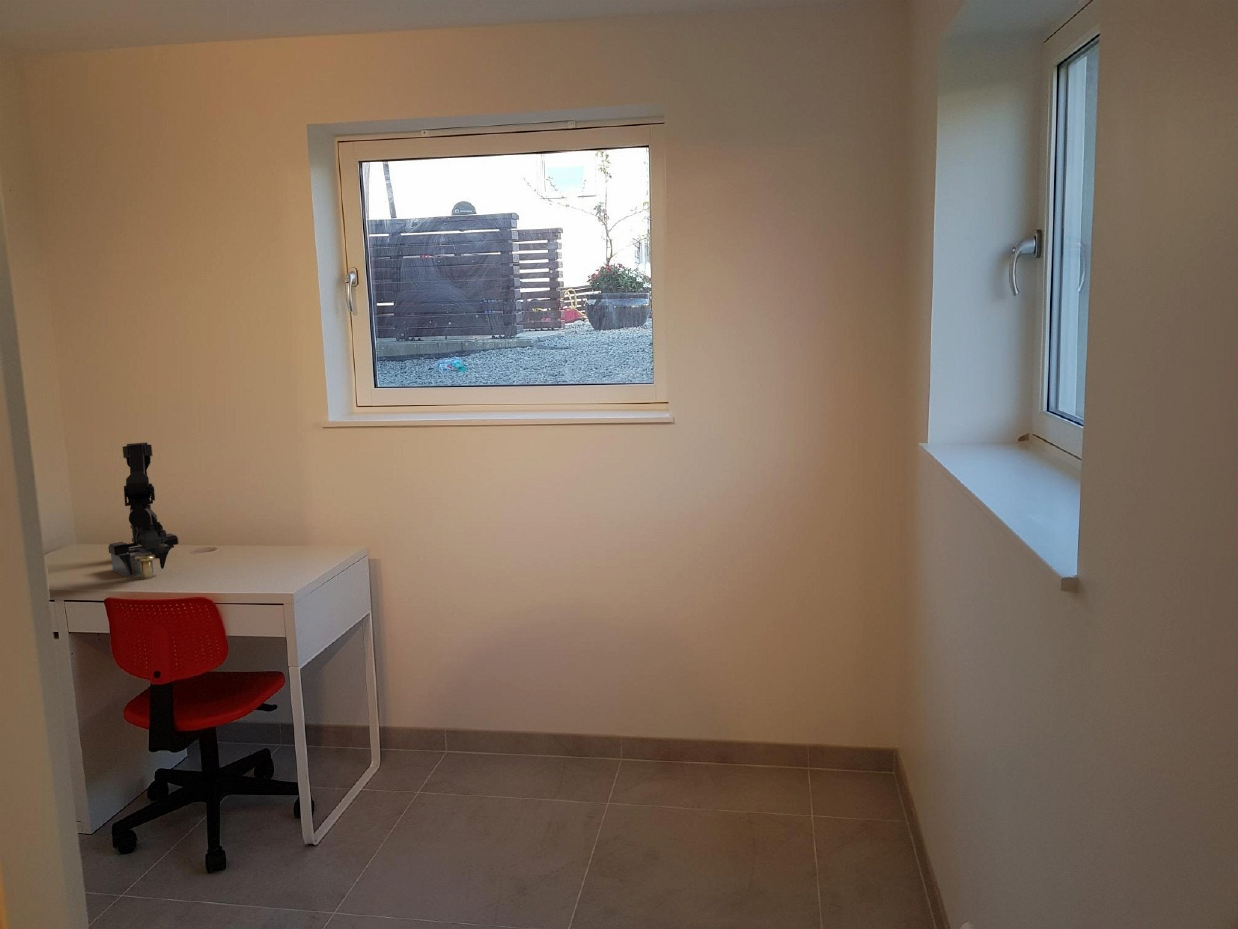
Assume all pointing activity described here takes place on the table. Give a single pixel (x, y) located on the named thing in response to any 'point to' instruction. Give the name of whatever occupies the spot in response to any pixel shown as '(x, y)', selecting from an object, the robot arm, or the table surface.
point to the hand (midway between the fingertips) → (146, 571)
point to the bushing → (146, 565)
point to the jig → (136, 569)
